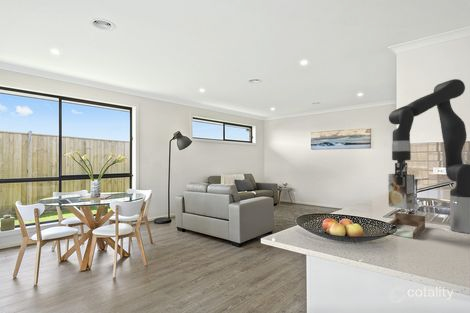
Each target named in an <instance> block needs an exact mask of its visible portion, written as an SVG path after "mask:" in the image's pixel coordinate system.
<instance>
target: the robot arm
mask: <svg viewBox="0 0 470 313" xmlns="http://www.w3.org/2000/svg"><path fill="white" fill-rule="evenodd" d="M465 89H466V85H465V83H464V82H463V81H462V80H461V79H459V78H455V79H454V78H453V79H449V80H447V81H444V82H441V83H438V84H436V85H435V86H434V89H433V92H431V93H428V94H427V95H424V96H421V97H420V98H417V99H416V100H414V101H412V102H410V103H409V104H406V105H404V106H401V107H399V108H397V109H394V110H393V111H392V112H390V113H389V115H388V121H389V122H390V124H392V125H398V127H397V128H396V129H394V130H393V131H392V142H391V143H392V144H391V160H392V161H397V162H395V163H394V174H395V176H396V177H397V185H402V176H403V174H408V163H407V162H406V161H411V158H412V157H411V156H412V154H411V153H412V152H411V150H412V149H411V146H412V145H411V130H412V126H413V125H414V118H415V117H418V116H420V115H422V114H423V113H425V112H427V111H429V110H430V109H433V108H434V107H436V109H437V112H438V116H439V123H440V128H441V129H440V130H441V136H442V142H443V146H444V147H443V149H444V156H445V173H446V174H445V175H446V176H447V178H448V180H450V181H452V182H456V183H455V187H454V188H452V189H450V192H449V213H450V214H449V216H450V217H449V218H450V219H449V220H450V222H449V227H450V230H452V231H453V232H458V233H465V234H470V164H467V163H464V162H463V157H462V154H463V149H464V147H465V143H466V142H467V130H466V125H465V124H466V123H465V122H464V121H463V119H462V118H461V117H460V116H459V115H458V114H457V113H456V112H455V111H454V110H453V107H452V103H451V100H453V99H456V98H458V97H459V98H460V96H461V95H463V94H464V92H465V91H466V90H465Z"/></svg>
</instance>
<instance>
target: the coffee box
mask: <svg viewBox="0 0 470 313" xmlns="http://www.w3.org/2000/svg"><path fill="white" fill-rule="evenodd" d="M387 178H388V182H387V184H388V207H390V208H395V209H396V208H397V209H401V210H402V209H403V210H414V209H415V208H416V207H415V174H408V173H407V174H403V176H402V185H397V177H396V176H395V173H388V177H387Z"/></svg>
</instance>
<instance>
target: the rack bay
mask: <svg viewBox="0 0 470 313" xmlns="http://www.w3.org/2000/svg"><path fill="white" fill-rule="evenodd" d="M394 214H395V215H394V218H393V219H392V220H390V221H389V222H388V223H389V224H392V225H395V226H394V227H396V226H397V225H404V226H409V227H416V228H414V230H413V231H412V230H406V229H401V228H400V229H399V228H396V229H397V232H396V233H395V234H393V235H392V236H396V237H402V238H407V239H413V240H417V239H418V237H419V236H420V234H422V232H423V231H424V229H425V228H426V216H425V215H419V214H412V213H404V212H397V211H396V212H394Z"/></svg>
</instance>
